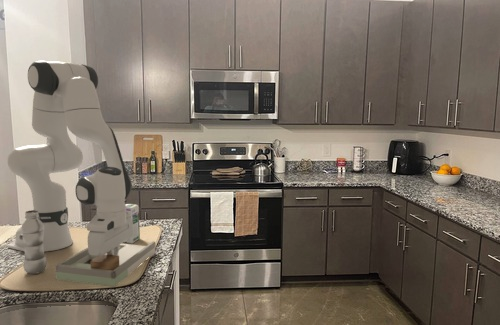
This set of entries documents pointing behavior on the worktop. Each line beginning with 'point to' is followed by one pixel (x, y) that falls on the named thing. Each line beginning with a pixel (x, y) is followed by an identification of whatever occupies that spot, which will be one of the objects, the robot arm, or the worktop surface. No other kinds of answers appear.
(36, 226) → the plastic bottle
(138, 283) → the worktop surface
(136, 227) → the syrup box
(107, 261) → the walnut block
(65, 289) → the worktop surface
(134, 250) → the box
